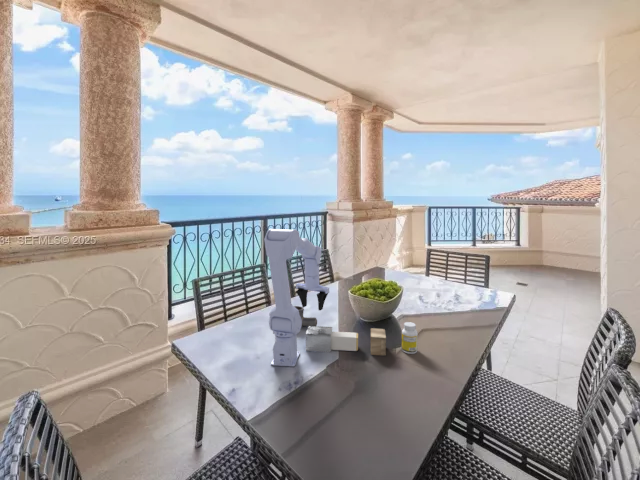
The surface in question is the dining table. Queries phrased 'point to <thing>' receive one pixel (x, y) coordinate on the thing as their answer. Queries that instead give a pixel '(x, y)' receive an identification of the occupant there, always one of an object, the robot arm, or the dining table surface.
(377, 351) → the socket
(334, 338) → the long white bar
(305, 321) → the pipe
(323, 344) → the sleeve
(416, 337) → the supplement bottle
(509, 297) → the dining table surface
